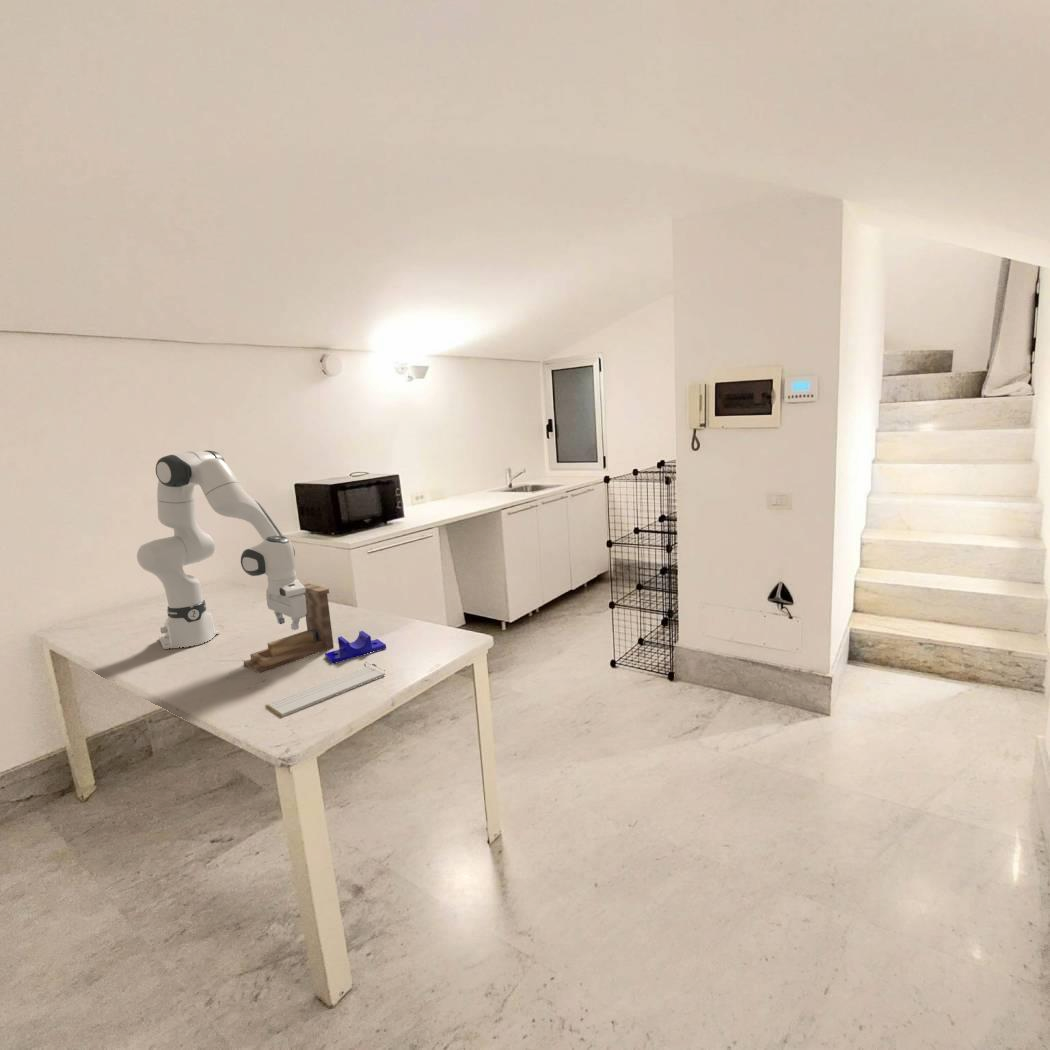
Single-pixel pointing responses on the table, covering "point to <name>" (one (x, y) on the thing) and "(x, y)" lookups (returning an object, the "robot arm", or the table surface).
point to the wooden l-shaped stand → (315, 621)
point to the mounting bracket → (354, 648)
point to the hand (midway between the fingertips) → (288, 626)
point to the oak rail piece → (291, 642)
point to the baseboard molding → (324, 690)
